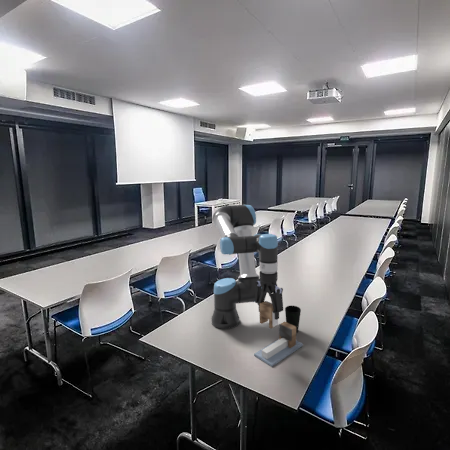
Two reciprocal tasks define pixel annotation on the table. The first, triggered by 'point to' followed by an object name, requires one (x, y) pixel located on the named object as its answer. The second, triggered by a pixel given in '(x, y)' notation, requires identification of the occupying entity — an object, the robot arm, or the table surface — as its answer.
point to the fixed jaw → (288, 333)
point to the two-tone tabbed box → (266, 313)
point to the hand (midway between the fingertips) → (268, 322)
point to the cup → (293, 316)
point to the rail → (279, 355)
